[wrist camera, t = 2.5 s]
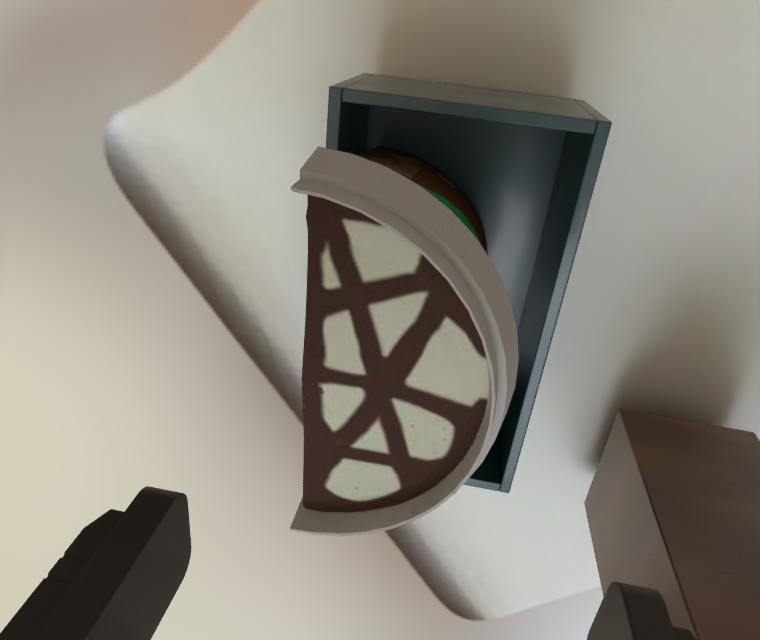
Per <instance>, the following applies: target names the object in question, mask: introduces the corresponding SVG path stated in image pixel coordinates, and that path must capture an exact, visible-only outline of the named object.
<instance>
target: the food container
mask: <svg viewBox="0 0 760 640" xmlns="http://www.w3.org/2000/svg"><path fill="white" fill-rule="evenodd" d="M291 191H294V192H299V193H303V194H307V195H308V207H307V214H306V220H307V226H308V270H307V298H306V321H305V337H304V352H303V368H302V397H303V418H304V469H303V470H304V471H303V498H302V500H301V503H300V505H299V507H298V510H297V512H296V515H295V517H294V520H293V522H292V525H291V527H290V530H291V531H298V532H303V533H309V534H315V535H333V536H346V535H361V534H369V533H374V532H379V531H384V530H389V529H392V528H395V527H398V526H401V525H403V524H406V523H409V522H412V521H414V520H416V519H418V518H420V517H422V516H423V515H425V514H427V513H429V512H431V511H432V510H434V509H436V508H437V507H439V506H440V505H441V504H442V503H444V502H445V501H446V500H447V499H449V498H450V497H451V496H452V495H454V494H455V493H456V492H457V490H458V489H459V488H460V487H461V486H462V485H463V484H464V483H465V482H466V481H467V480H468V479H469V478H470V476H471V475H472V474H473V473H474V472H475V471H476V469H477V468H478V467H479V466H480V465H481V464H482V462H483V460H484V459H485V457H486V455H487V454H488V452H489V450H490V448H491V447H492V445H493V443H494V441H495V439H496V437H497V435H498V432H499V430H500V427H501V425H502V423H503V420H504V418H505V416H506V413H507V410H508V407H509V404H510V401H511V398H512V395H513V392H514V389H515V385H516V377H517V369H518V361H519V354H518V338H517V327H516V323H515V319H514V315H513V311H512V307H511V303H510V299H509V296H508V294H507V292H506V289H505V287H504V285H503V283H502V280H501V278H500V276H499V274H498V271H497V269H496V267H495V265H494V264H493V262H492V261H491V259H490V258H489V256H488V250H487V241H486V237H485V233H484V230H483V226H482V223H481V221H480V219H479V217H478V215H477V212H476V210H475V208H474V207H473V205H472V204H471V202H470V201H469V199H468V198H467V196H466V195H465V193H464V192H463V191H462V190H461V189H460V188H459V187H458V186H457V185H456V184H455V182H454V181H453V180H452V179H451V178H449V177H448V176H447V175H446V174H444V173H443V172H442V171H440V170H439V169H438V168H437V167H435V166H433V165H432V164H430V163H428V162H426V161H424V160H423V159H421V158H419V157H417V156H414V155H411V154H409V153H406V152H403V151H401V150H396V149H391V148H386V147H381V146H378V147H375V148H373V149H371V150H368V151H366V152H364V153H361V154H359V155H357V156H356V155H354V154H351V153H346V152H342V151H337V150H332V149H327V148H323V147H317V149H316V150H315V151H314V153H313V154H312V155H311V156H310V158H309V159H308V160H307V162H306V163H305V164H304V165H303V167H302V168H301V169H300V180H299V181H297V182H296V183H295V184H294V185H293V186H292V187H291Z"/></svg>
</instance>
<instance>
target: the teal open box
mask: <svg viewBox="0 0 760 640" xmlns="http://www.w3.org/2000/svg"><path fill="white" fill-rule="evenodd" d="M611 125H612V122H610V121H609V120H608V119H607V118H605V117H604V116H603V115H601V114H600V113H599V112H598V111H596V110H595V109H594V108H592V107H591V106H590V105H589V104H587V103H586V102H585V101H583V100H577V99H569V98H561V97H553V96H545V95H537V94H529V93H521V92H513V91H505V90H497V89H489V88H480V87H472V86H464V85H456V84H448V83H440V82H432V81H424V80H416V79H408V78H400V77H392V76H384V75H376V74H367V73H363V74H361V75H358V76H356V77H353V78H350V79H348V80H345V81H343V82H340V83H338V84H335V85H332V86H330V87H329V101H328V120H327V138H326V148H327V149H332V150H337V151H342V152H346V153H351V154H354V155H356V156H357V155H359V154H361V153H364V152H366V151H368V150H371V149H373V148H375V147H378V146H381V147H386V148H391V149H396V150H401V151H403V152H406V153H409V154H411V155H414V156H417V157H419V158H421V159H423V160H424V161H426V162H428V163H430V164H432V165H433V166H435V167H437V168H438V169H439V170H440V171H442V172H443V173H444V174H446V175H447V176H448V177H449V178H451V179H452V180H453V181H454V182H455V184H456V185H457V186H458V187H459V188H460V189H461V190H462V191H463V192H464V193H465V195H466V196H467V198H468V199H469V201H470V202H471V204H472V205H473V207H474V208H475V210H476V212H477V215H478V217H479V219H480V221H481V223H482V226H483V230H484V233H485V237H486V241H487V250H488V256H489V258H490V259H491V261H492V262H493V264H494V265H495V267H496V269H497V271H498V274H499V276H500V278H501V280H502V283H503V285H504V287H505V289H506V292H507V294H508V296H509V299H510V303H511V307H512V311H513V315H514V319H515V323H516V327H517V338H518V354H519V361H518V369H517V377H516V385H515V389H514V392H513V395H512V398H511V401H510V404H509V407H508V410H507V413H506V416H505V418H504V420H503V423H502V425H501V427H500V430H499V432H498V435H497V437H496V439H495V441H494V443H493V445H492V447H491V448H490V450H489V452H488V454H487V455H486V457H485V459H484V460H483V462H482V464H481V465H480V466H479V467H478V468H477V469H476V471H475V472H474V473H473V474H472V475H471V476H470V478H469V479H468V480H467V481H466V482H465V483H464V485H469V486H475V487H480V488H485V489H490V490H495V491H501V492H506V493H509V492H510V488H511V484H512V481H513V477H514V474H515V470H516V466H517V463H518V459H519V456H520V452H521V448H522V445H523V441H524V438H525V434H526V430H527V427H528V423H529V420H530V416H531V412H532V409H533V405H534V402H535V398H536V394H537V391H538V387H539V384H540V380H541V376H542V373H543V369H544V366H545V362H546V358H547V355H548V351H549V348H550V344H551V340H552V337H553V333H554V330H555V326H556V322H557V319H558V315H559V312H560V308H561V304H562V301H563V297H564V294H565V290H566V286H567V283H568V279H569V276H570V272H571V268H572V265H573V261H574V258H575V254H576V250H577V247H578V243H579V240H580V236H581V232H582V229H583V225H584V222H585V218H586V215H587V211H588V207H589V204H590V200H591V197H592V193H593V189H594V186H595V182H596V179H597V175H598V171H599V168H600V164H601V161H602V157H603V153H604V150H605V146H606V143H607V139H608V135H609V132H610V128H611Z"/></svg>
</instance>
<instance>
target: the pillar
mask: <svg viewBox="0 0 760 640" xmlns="http://www.w3.org/2000/svg"><path fill="white" fill-rule="evenodd" d="M585 508H586V513H587V518H588V523H589V528H590V533H591V537H592V542H593V547H594V552H595V557H596V562H597V567H598V572H599V576H600V581H601V586H602V591H603V596H605V594H606V591H607V589H608V587H609V585H610V584H611V583H612V582H613V581H616V582H621V583H626V584H631V585H636V586H641V587H646V588H651V589H655V590H658V591H659V592H660V593H661V595H662V597H663V599H664V602H665V605H666V608H667V611H668V614H669V618H670V621H671V624H672V626H674V627H679V628H684V629H689V630H690V631H691V632H692V634H693V635H694V637H695V638H696V639H697V640H760V441H759V439H758V438H757V436H756V435H755V433H753V432H749V431H743V430H737V429H732V428H726V427H720V426H714V425H709V424H703V423H697V422H692V421H686V420H680V419H674V418H669V417H663V416H657V415H652V414H646V413H640V412H634V411H629V410H623V409H619V410H618V412H617V415H616V418H615V421H614V423H613V426H612V429H611V432H610V434H609V437H608V440H607V442H606V445H605V448H604V451H603V453H602V456H601V459H600V462H599V464H598V467H597V470H596V473H595V475H594V478H593V481H592V484H591V486H590V489H589V492H588V494H587V497H586V500H585Z"/></svg>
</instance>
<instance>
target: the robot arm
mask: <svg viewBox="0 0 760 640" xmlns="http://www.w3.org/2000/svg"><path fill="white" fill-rule="evenodd" d="M190 555H191V538H190V525H189V512H188V501H187V497H186V495H185V494H184V493H178V492H173V491H168V490H163V489H158V488H154V487H145V488H143V489H142V490H141V491H140V492H139V493H138V494H137V496H136V497H135V499H134V500H133V501H132V502H131V504H130V505H129V507H128V508H127V509H126V511H125V512H122V511H117V510H113V509H111V510H109V511H108V512H106V513H105V514H103V515H102V516H101V517H99V518H98V519H96V520H95V521H94V522H92V523H91V524H89V525H88V526H86V527H85V528H84V529H83V530H82V531H81V533H80V534H79V535H78V536H77V538H76V539H75V540H74V541H73V543H72V544H71V545H70V546H69V548H68V549H67V550H66V551H65V554H64V556H63V558H60V559H59V560H58V561H57V563H56V564H55V565H54V567H53V568H52V569H51V570H50V572H49V573H48V577H47V578H46V579H45V578H44V579H43V581H42V582H41V583H40V584H39V585H38V587H37V588H36V589H35V591H34V592H33V593H32V594H31V595H30V597H29V598H28V599H27V601H26V602H25V603H24V604H23V606H22V607H21V608H20V609H19V611H18V612H17V613H16V614H15V616H14V617H13V618H12V619H11V621H10V622H9V623H8V625H7V626H6V627H5V628H4V630H3V631H2V632H1V633H0V640H151V638H152V636H153V634H154V632H155V630H156V629H157V627H158V625H159V623H160V621H161V619H162V617H163V616H164V614H165V612H166V610H167V608H168V606H169V605H170V603H171V601H172V599H173V597H174V595H175V593H176V592H177V590H178V588H179V586H180V584H181V582H182V580H183V578H184V576H185V573H186V571H187V568H188V564H189V560H190ZM587 640H697V639H696V638H695V637H694V635H693V634H692V632H691V631H690V630H689V629H684V628H679V627H674V626H672V624H671V621H670V618H669V614H668V611H667V608H666V605H665V602H664V599H663V597H662V595H661V593H660V592H659V591H658V590H655V589H651V588H646V587H641V586H636V585H631V584H626V583H621V582H616V581H613V582H612V583H611V584H610V585H609V587H608V589H607V591H606V594H605V596H604V598H603V601H602V603H601V605H600V607H599V610H598V612H597V614H596V617H595V619H594V621H593V624H592V626H591V628H590V631H589V633H588V637H587Z"/></svg>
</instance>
